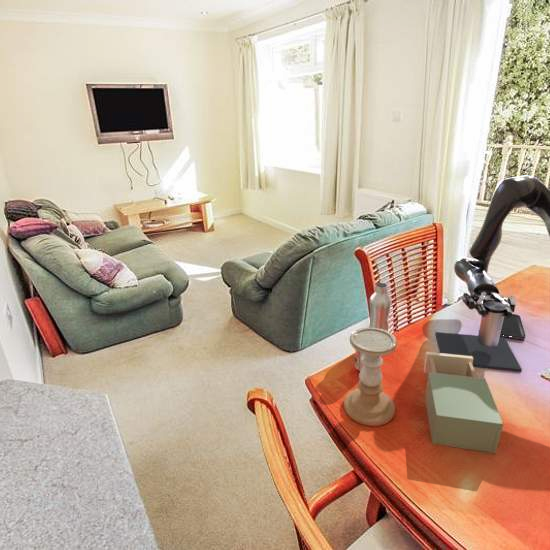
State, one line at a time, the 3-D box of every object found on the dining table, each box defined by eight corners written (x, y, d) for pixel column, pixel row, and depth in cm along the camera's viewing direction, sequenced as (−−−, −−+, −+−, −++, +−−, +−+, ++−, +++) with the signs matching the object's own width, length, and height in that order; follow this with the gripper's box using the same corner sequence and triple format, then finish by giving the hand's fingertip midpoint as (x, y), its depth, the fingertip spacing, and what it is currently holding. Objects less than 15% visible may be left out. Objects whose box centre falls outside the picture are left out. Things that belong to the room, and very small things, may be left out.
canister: (495, 337, 111) (503, 301, 107) (500, 347, 107) (508, 311, 102) (475, 335, 113) (481, 300, 108) (479, 346, 108) (486, 309, 103)
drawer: (423, 368, 104) (425, 349, 102) (467, 372, 102) (471, 353, 99) (429, 404, 91) (432, 384, 89) (480, 411, 88) (485, 390, 86)
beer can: (356, 361, 110) (357, 326, 105) (372, 364, 108) (375, 328, 104) (353, 371, 106) (354, 335, 101) (370, 374, 104) (372, 337, 100)
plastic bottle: (378, 350, 114) (383, 291, 107) (362, 340, 120) (365, 284, 112) (393, 343, 118) (398, 285, 110) (376, 334, 123) (380, 278, 115)
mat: (504, 339, 116) (504, 337, 116) (521, 371, 102) (522, 369, 102) (435, 334, 121) (435, 331, 121) (442, 363, 107) (442, 361, 107)
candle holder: (405, 412, 91) (413, 342, 83) (368, 435, 85) (373, 361, 77) (369, 384, 100) (373, 319, 92) (333, 403, 95) (334, 335, 87)
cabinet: (425, 398, 95) (428, 372, 92) (479, 405, 92) (485, 378, 88) (432, 443, 82) (436, 415, 79) (496, 453, 79) (503, 424, 76)
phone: (519, 314, 127) (526, 337, 115) (519, 317, 128) (525, 340, 115) (493, 311, 130) (496, 332, 118) (492, 314, 131) (496, 335, 118)
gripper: (458, 276, 118) (470, 300, 103) (509, 279, 115) (529, 304, 100) (455, 297, 121) (466, 324, 106) (505, 300, 118) (523, 328, 103)
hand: (496, 314), depth 103 cm, fingers closed on canister, 5 cm apart
